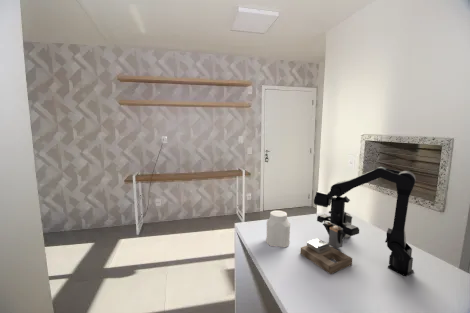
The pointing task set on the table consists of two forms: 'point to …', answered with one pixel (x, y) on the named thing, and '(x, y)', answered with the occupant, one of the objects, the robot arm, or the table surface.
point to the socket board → (327, 259)
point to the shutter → (318, 245)
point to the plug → (334, 237)
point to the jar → (278, 229)
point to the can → (347, 224)
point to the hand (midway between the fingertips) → (335, 241)
